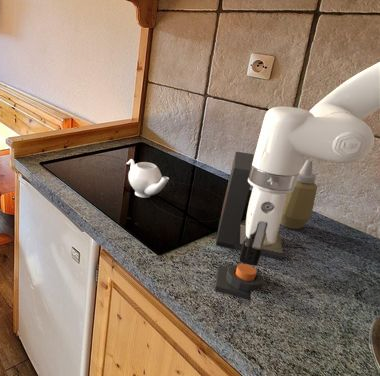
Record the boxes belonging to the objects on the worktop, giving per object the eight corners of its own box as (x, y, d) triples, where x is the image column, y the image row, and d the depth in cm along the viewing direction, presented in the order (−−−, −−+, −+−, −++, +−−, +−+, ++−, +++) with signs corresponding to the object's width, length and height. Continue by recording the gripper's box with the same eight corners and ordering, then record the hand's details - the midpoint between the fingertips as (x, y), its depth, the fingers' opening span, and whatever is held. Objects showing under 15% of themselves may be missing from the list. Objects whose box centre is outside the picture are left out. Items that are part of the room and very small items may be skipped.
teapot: (137, 179, 131) (141, 152, 127) (176, 206, 114) (182, 176, 111) (111, 183, 128) (114, 155, 124) (148, 211, 111) (152, 181, 107)
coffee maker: (278, 235, 101) (301, 161, 93) (281, 260, 91) (307, 180, 83) (218, 222, 107) (235, 151, 98) (215, 245, 97) (233, 167, 88)
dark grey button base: (268, 282, 84) (272, 270, 83) (269, 305, 78) (274, 293, 76) (217, 269, 88) (220, 257, 87) (214, 290, 81) (217, 278, 80)
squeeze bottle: (313, 227, 106) (335, 163, 98) (295, 234, 102) (317, 168, 94) (283, 214, 112) (302, 152, 104) (265, 220, 108) (284, 157, 100)
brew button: (254, 273, 82) (256, 266, 82) (254, 283, 80) (256, 276, 79) (235, 268, 84) (237, 261, 83) (235, 278, 81) (236, 271, 80)
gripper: (300, 198, 65) (270, 289, 73) (292, 167, 77) (267, 248, 85) (249, 188, 68) (225, 277, 75) (249, 160, 80) (229, 239, 88)
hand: (247, 261), depth 80 cm, fingers closed
